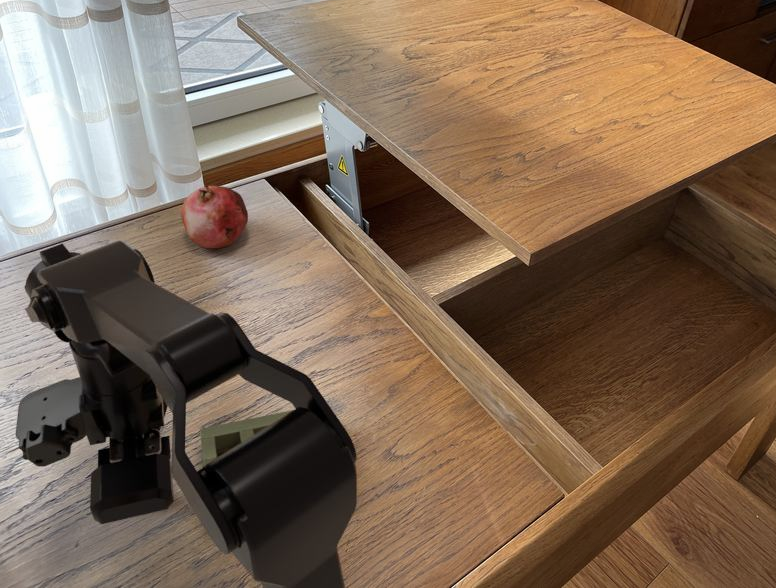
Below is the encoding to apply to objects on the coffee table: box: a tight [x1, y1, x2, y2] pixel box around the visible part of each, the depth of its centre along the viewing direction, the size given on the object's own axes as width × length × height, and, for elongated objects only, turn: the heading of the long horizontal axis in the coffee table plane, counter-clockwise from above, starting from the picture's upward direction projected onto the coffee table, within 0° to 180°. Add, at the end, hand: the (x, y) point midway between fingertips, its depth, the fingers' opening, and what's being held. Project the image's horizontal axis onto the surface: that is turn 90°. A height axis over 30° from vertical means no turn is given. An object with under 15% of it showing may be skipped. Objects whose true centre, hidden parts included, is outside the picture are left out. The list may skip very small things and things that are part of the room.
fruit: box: [180, 183, 249, 249], centre depth 102 cm, size 9×10×10 cm
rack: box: [199, 409, 294, 467], centre depth 77 cm, size 9×13×4 cm
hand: (145, 467), depth 71 cm, fingers closed
